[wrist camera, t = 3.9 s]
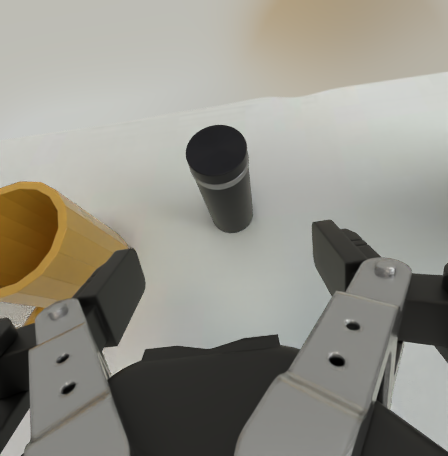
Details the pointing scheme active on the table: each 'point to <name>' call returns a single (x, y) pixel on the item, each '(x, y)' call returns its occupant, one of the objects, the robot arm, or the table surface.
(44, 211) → the mug
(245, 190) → the dark grey cylinder
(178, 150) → the table surface
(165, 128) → the table surface
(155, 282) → the table surface
